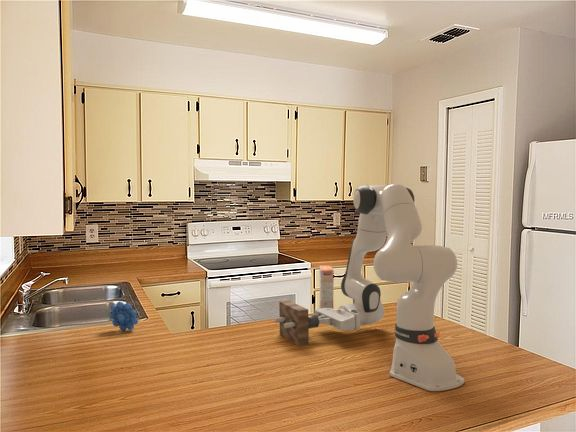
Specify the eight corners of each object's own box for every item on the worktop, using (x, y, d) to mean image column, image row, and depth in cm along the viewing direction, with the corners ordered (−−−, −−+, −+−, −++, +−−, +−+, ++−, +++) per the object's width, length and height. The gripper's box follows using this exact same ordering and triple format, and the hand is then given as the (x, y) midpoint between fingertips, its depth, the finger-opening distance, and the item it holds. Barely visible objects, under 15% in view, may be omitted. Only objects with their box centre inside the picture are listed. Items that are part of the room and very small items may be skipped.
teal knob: (308, 323, 182) (308, 311, 182) (278, 328, 176) (277, 315, 176) (302, 320, 186) (302, 308, 186) (272, 324, 180) (272, 313, 180)
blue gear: (105, 334, 186) (104, 304, 186) (111, 329, 193) (110, 300, 192) (134, 333, 186) (133, 303, 186) (140, 328, 193) (139, 299, 192)
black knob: (319, 328, 175) (319, 316, 175) (288, 333, 169) (287, 321, 169) (313, 325, 179) (313, 313, 179) (282, 330, 173) (282, 318, 173)
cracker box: (334, 316, 208) (334, 270, 207) (320, 316, 208) (320, 270, 207) (332, 308, 222) (331, 264, 221) (319, 308, 222) (318, 264, 221)
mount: (308, 344, 171) (308, 309, 170) (298, 346, 169) (298, 310, 169) (288, 332, 185) (288, 300, 185) (279, 334, 184) (279, 301, 183)
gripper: (332, 302, 192) (302, 306, 186) (362, 314, 174) (330, 319, 168) (332, 317, 192) (303, 322, 186) (362, 331, 174) (330, 336, 168)
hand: (316, 321), depth 177 cm, fingers closed, pressing on black knob
